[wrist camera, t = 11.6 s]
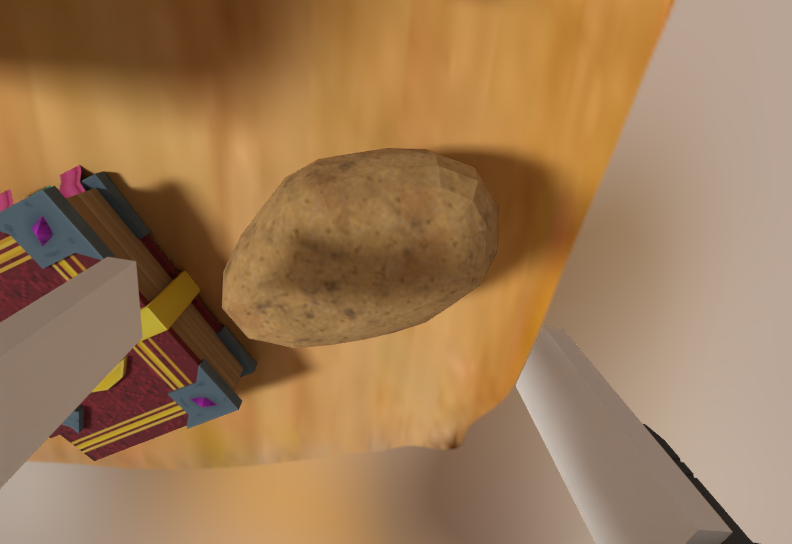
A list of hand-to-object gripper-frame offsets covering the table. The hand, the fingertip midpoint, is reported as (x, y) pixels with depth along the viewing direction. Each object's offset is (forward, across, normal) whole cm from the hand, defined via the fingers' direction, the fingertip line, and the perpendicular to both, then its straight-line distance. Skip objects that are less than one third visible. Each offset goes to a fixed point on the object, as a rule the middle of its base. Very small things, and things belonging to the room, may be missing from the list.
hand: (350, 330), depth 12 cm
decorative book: (+12, -14, -9) cm, 21 cm away
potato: (+11, 0, 0) cm, 11 cm away
